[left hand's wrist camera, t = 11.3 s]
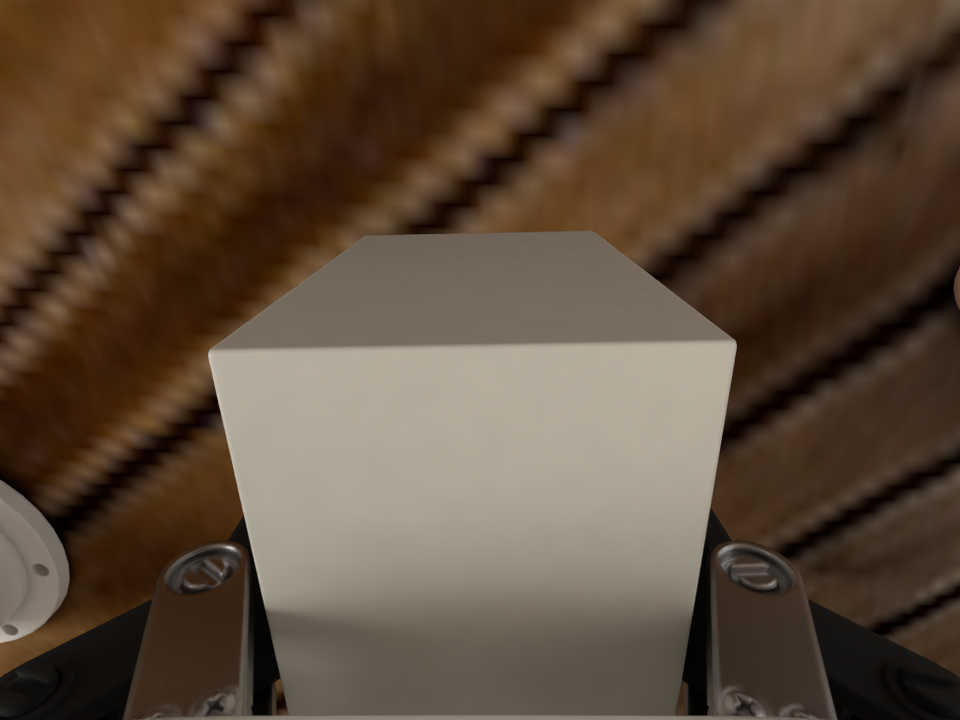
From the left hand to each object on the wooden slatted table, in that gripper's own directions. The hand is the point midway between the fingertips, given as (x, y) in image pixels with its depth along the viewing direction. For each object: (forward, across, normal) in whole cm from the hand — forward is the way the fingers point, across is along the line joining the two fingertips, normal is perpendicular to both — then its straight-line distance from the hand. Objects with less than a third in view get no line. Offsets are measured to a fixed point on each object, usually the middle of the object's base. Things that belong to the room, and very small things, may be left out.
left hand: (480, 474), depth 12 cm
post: (+3, +1, -33) cm, 33 cm away
